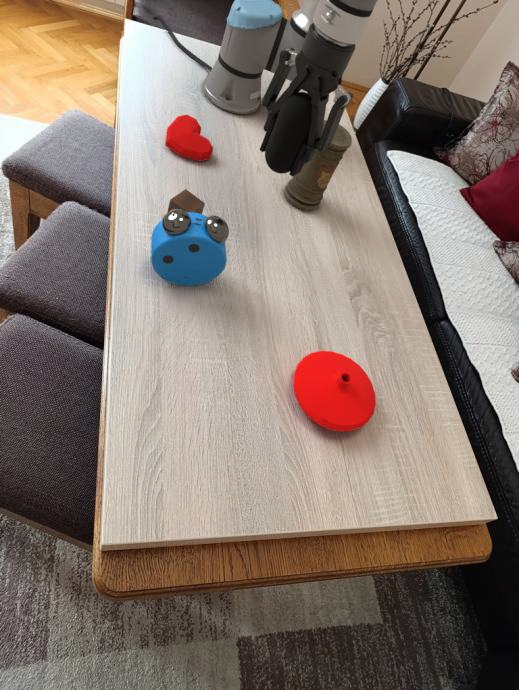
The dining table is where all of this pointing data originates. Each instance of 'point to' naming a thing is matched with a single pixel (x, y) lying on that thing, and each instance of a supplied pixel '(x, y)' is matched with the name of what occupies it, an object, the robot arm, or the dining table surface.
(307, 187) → the container
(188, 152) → the heart
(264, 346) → the dining table surface
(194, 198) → the walnut block
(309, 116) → the decorative object
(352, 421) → the flat cone with hole
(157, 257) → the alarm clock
